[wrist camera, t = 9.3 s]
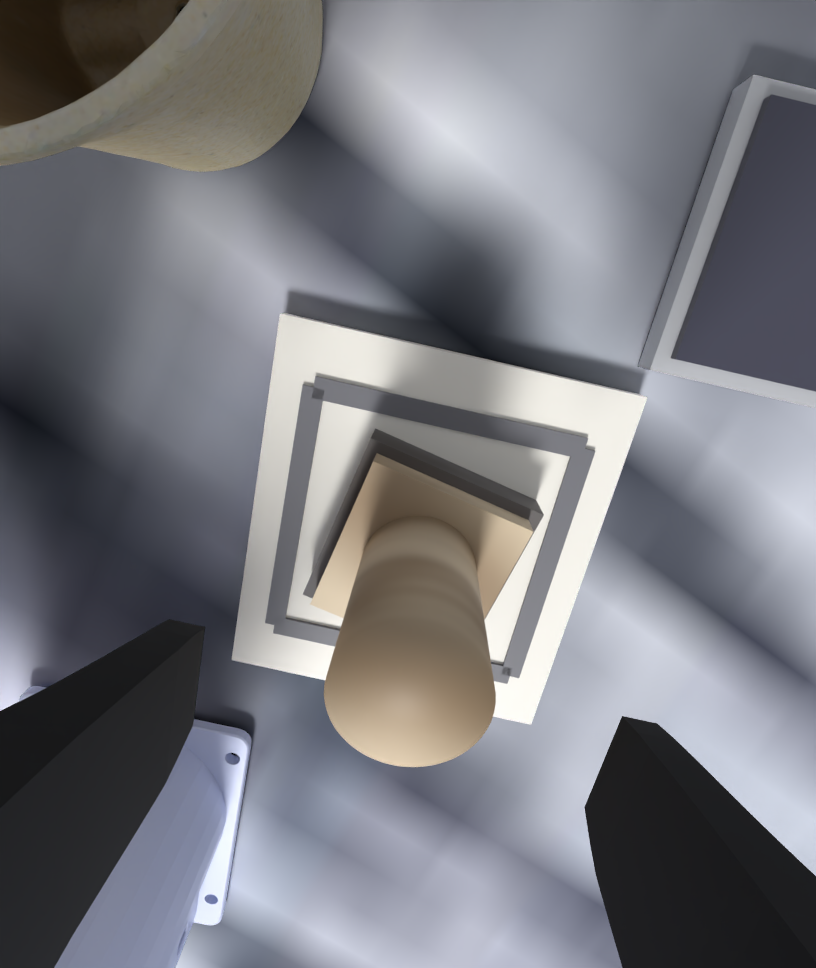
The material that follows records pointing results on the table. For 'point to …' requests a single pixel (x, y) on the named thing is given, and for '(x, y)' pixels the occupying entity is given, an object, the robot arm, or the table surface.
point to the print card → (445, 433)
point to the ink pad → (748, 255)
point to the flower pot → (155, 77)
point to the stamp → (416, 601)
